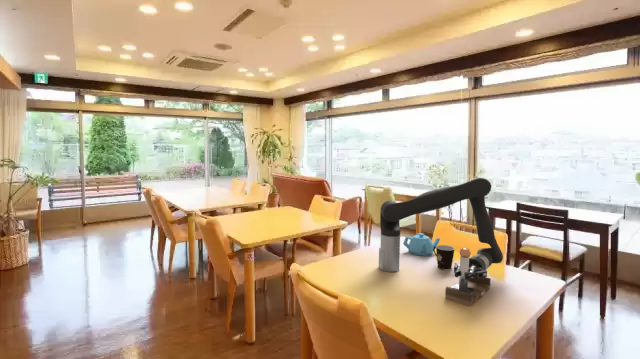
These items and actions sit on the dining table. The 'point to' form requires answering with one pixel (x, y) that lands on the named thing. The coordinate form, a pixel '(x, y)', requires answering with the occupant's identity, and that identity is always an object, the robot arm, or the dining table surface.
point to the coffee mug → (444, 256)
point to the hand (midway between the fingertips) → (461, 276)
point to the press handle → (464, 272)
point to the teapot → (420, 244)
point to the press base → (467, 298)
